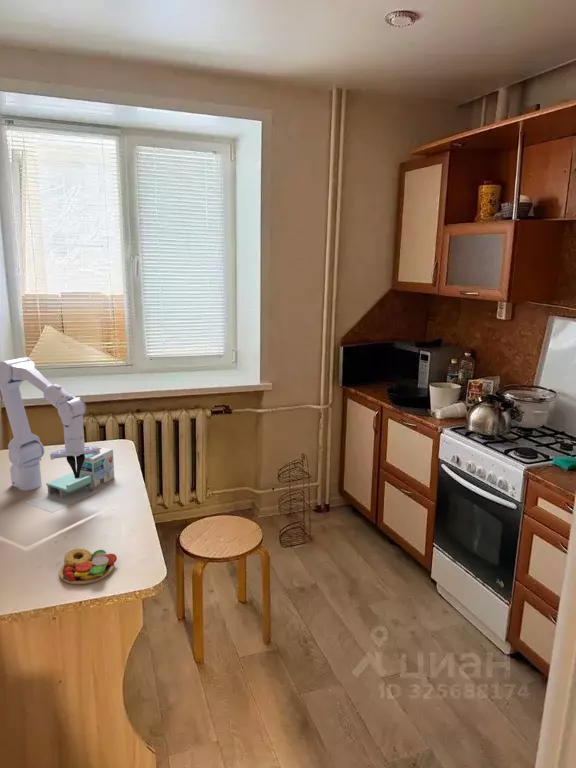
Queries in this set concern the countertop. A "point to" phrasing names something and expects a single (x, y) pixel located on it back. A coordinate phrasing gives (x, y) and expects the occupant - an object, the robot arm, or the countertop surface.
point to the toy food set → (86, 566)
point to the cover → (71, 482)
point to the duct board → (61, 498)
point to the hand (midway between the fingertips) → (77, 477)
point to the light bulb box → (99, 466)
